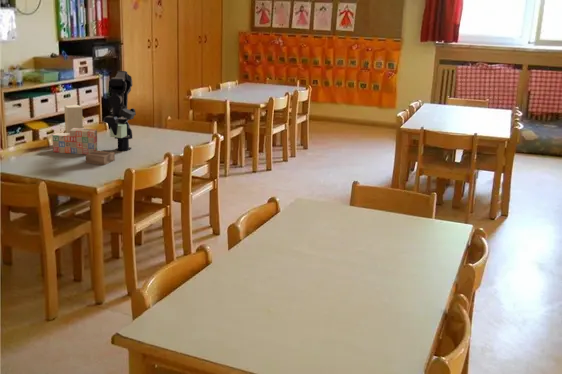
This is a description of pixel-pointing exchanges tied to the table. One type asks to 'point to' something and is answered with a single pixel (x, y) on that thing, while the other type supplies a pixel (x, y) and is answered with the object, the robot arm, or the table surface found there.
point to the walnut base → (100, 157)
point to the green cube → (120, 131)
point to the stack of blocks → (76, 141)
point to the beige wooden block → (73, 117)
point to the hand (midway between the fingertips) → (118, 133)
